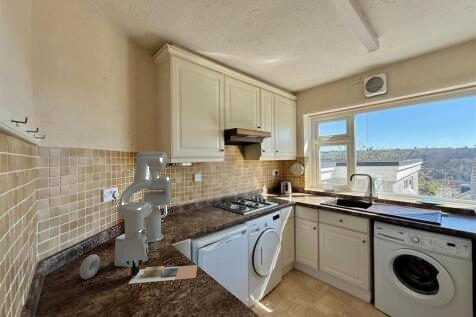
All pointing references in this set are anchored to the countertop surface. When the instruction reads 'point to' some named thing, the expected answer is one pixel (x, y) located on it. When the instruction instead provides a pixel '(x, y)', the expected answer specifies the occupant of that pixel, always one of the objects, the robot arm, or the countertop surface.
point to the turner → (160, 272)
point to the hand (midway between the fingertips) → (135, 274)
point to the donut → (85, 265)
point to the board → (182, 273)
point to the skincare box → (119, 251)
